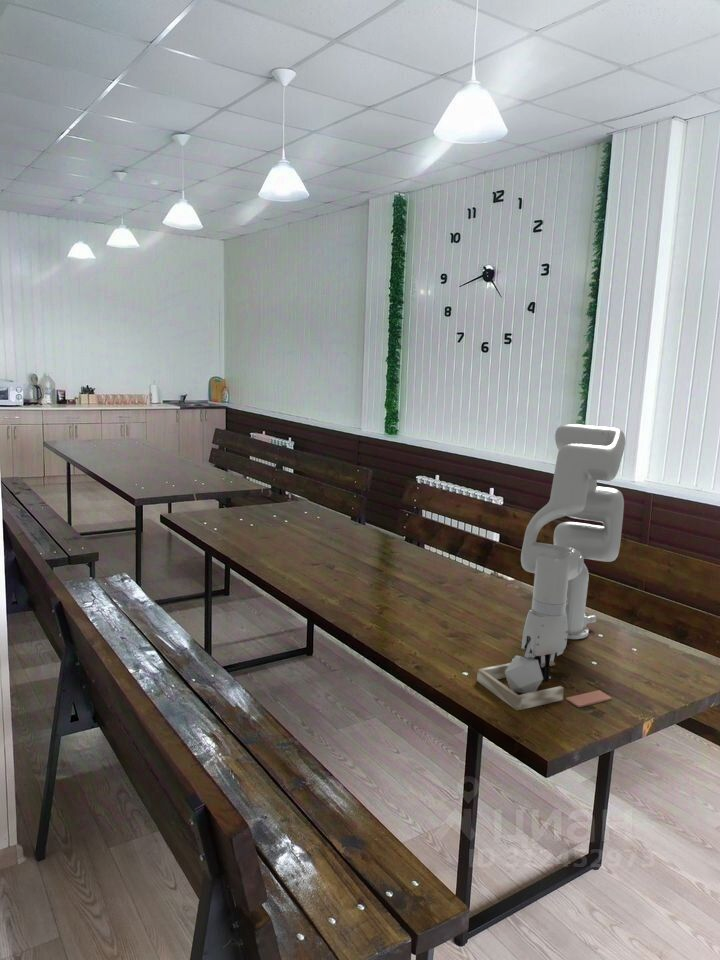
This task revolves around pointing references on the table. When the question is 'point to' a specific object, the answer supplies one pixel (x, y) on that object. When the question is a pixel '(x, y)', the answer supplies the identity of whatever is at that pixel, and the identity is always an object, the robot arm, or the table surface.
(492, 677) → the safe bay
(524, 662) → the die
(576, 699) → the mat
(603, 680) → the table surface
